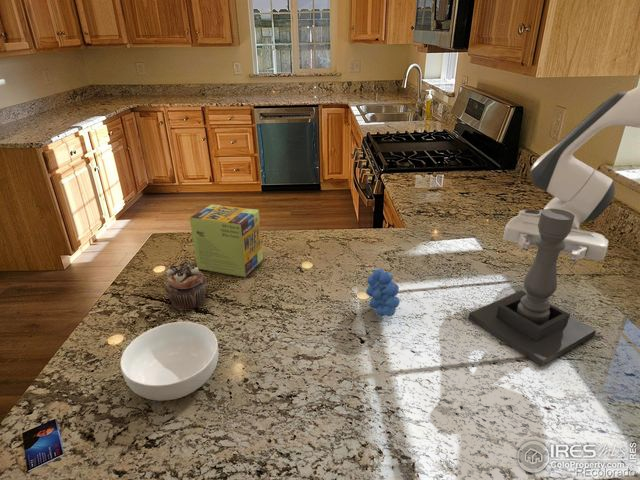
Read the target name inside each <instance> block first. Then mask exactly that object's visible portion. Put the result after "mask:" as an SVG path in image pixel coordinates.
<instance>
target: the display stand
mask: <svg viewBox="0 0 640 480" xmlns="http://www.w3.org/2000/svg"><path fill="white" fill-rule="evenodd" d="M525 295H526V291H524V290H522V289H521V290H518V291H516V292H514V293H512V294H509V295H507V296H505V297H502V298H500V299H497V300H496V301H494V302H491V303H488V304H487V305H484V306H482V307H479V308H478V309H475V310H473V311H471V312H469V313H468V319H469V320H470V321H471V322H473V323H475V324H476V325H477V326H479V327H481V328H482V329H484V330H485V331H487V332H488V333H490V334H491V335H493V336H494V337H496V338H497V339H499V340H500V341H502V342H503V343H505V344H507V345H508V346H509V347H510V348H512V349H514V350H516V351H517V352H519V353H520V354H522V355H523V356H525V357H526V358H528V360H530V361H532V362H534V363H535V364H537V365H538V366H540V367H543V366H545V365H546V364H548V363H550V362H552V361H553V360H555V359H557V358H558V357H560V356H562V355H563V354H565V353H567V352H568V351H571V350H572V349H574V348H576V347H577V346H580V345H581V344H582V343H584V342H586V341H588V340H590V339H591V338H593V337H594V336H595V335H596V333H597V329H596V328H593V327H592V326H590V325H587V324H586V323H585V322H583V321H580V320H579V319H576V318H575V317H572V316H571V314H570V313H568V312H567V311H565V310H563V309H561V308H559V307H557V306H555V305H553V304H551V303H550V308H549V311H550V315H549V318H548V321H547V322H545V323H543V324H541V325H537V324H535V323H534V322H532V321H530V320H528V319H527V318H525V317H523V316H521V315H520V314H518V313H516V312H517V307H518V304H519V303H520V302H521V298H522V297H523V296H525Z"/></svg>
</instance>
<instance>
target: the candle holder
mask: <svg viewBox="0 0 640 480" xmlns="http://www.w3.org/2000/svg"><path fill="white" fill-rule="evenodd" d="M543 209H544V208H543ZM543 209H541V210H542V211H541V214H540V219H539V223H538V228H539V233H540V237H539V238H537V239H536V245H537V246H538V248H537V249H536V255H535V257H534V258H535V259H534V260H533V263H532V264H531V266H530V267H529V270H528V272H527V273H526V275H525V276H524V279H523V288H524V290H525V293H526V295H525V296H523V297H522V298H521V302H520V303H519V304H518V307H517V312H516V313H518V314H520V315H521V316H523V317H525V318H527V319H528V320H530V321H532V322H534V323H535V324H537V325H541V324H543V323H545V322H547V321H548V318H549V315H550V311H549V308H550V304H551V303H550V302H549V299H550V297H551V296H553V295H554V293H555V292H556V290H557V288H558V279H557V274H558V273H557V263H558V259H559V255H560V253H559V252H560V251H561V250H563V249H564V248H565V243H564V242H563V240H564V239H565V238H566V237H567V236H568V234H569V233H570V232H571V228H572V225H573V221H574V215H573V214H572V213H570V212H567V211H565V210H560V209H544V210H543Z"/></svg>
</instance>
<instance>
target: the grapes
mask: <svg viewBox="0 0 640 480" xmlns="http://www.w3.org/2000/svg"><path fill="white" fill-rule="evenodd" d="M393 279H394V275H393V274H391V272H390V271H384V270H383V269H382V268H376V269H374V270H373V273H371V274H369V276H368V277H367V280H366V282H367V284H368V286H367V288H366V290H365V293H366V295H367V296H368V297H370V300H369V306H370V308H372V309H376V310H375V313H376V314H377V316H379V317H385V316H386V317H387V318H388V317H393V316H394V315H395V313H396V309H397V308H398V307H399V305H400V302H401V300H400V298H399V297H398V296H397V295H398V294H399V292H400V289H399V288H400V287H399V285H398V284H397V283H395V282H394V281H393Z"/></svg>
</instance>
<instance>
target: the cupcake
mask: <svg viewBox="0 0 640 480" xmlns="http://www.w3.org/2000/svg"><path fill="white" fill-rule="evenodd" d="M166 275H167V276H166V282H165V285H164V287H163V288H164V291H165V294H167V296H168V298H169V301H170V303H171V306H172V307H174V308H175V309H177V310H179V311H180V310H181V311H189V310H194V309H197V308H198V307H200V306H202V305H203V304H204V303H205V301H206V292H207V291H206V289H207V279H206V277H205V276H204V274H203V272H202V271H200V269H198V268H197V266H190V265H189V264H188V262H187V261H184V262H183V263H181V264H179V265H173V266H169V268H168V269H167V270H166Z"/></svg>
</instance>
